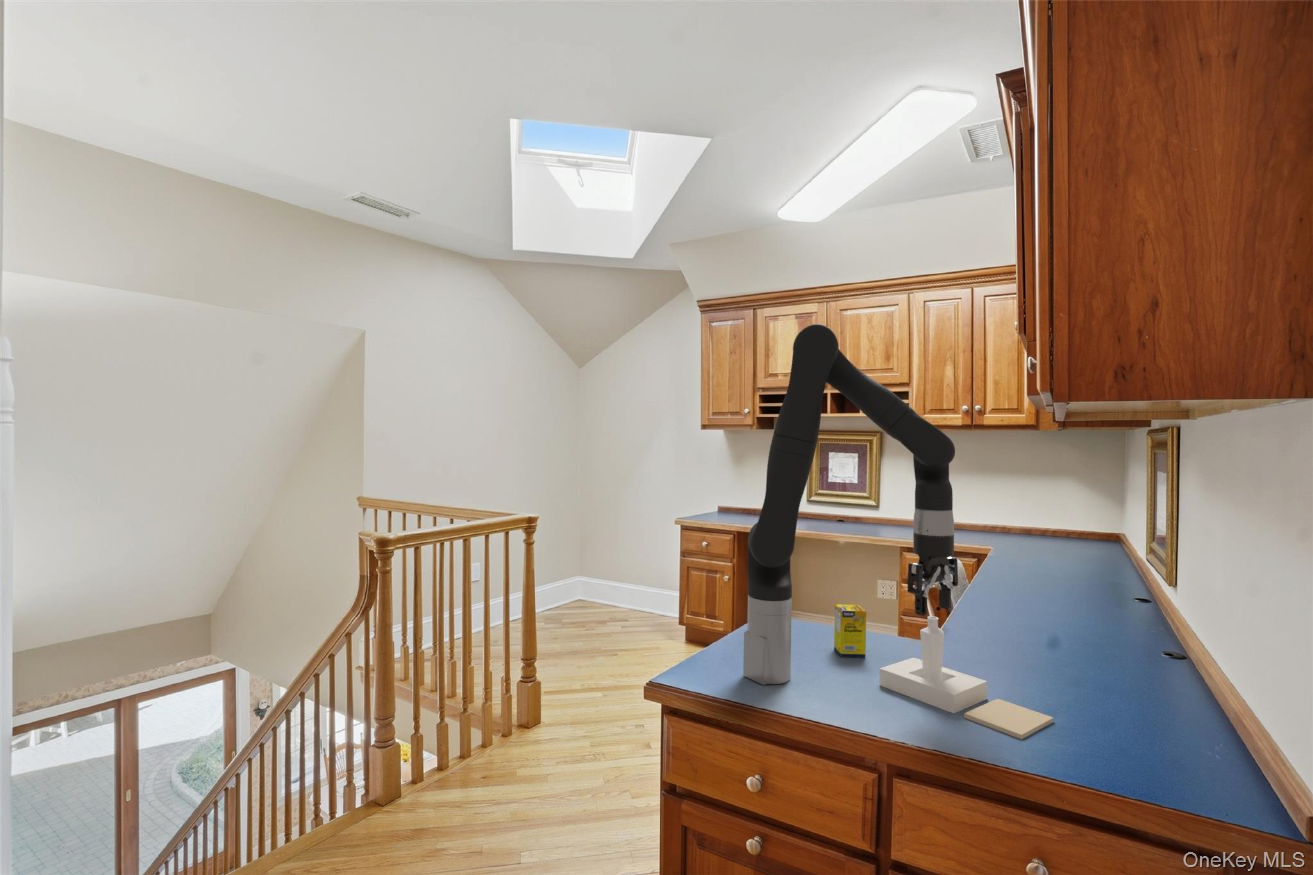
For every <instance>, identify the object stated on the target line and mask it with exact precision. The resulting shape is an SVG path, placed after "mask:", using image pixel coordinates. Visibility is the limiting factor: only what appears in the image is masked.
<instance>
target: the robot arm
mask: <svg viewBox="0 0 1313 875" xmlns="http://www.w3.org/2000/svg"><path fill="white" fill-rule="evenodd" d="M790 367H791V368H790V373H789V375H790V376H789V381H788V385H787V390H786V394H785V396H784V399H783V402H782V405H781V407H780V410H779V412H778V416H777V419H776V424H775V426H774V430H773V433H772V434H773V435H772V438H771V443H770V447H769V451H768V458H767V466H766V481H765V482H766V483H765V494H764V500H763V504H762V508H761V510H760V514H759V518H758V520H757V522H756V523H755V524H754V525H752V527H751V529H749V530H750V531H749V533H748V536H747V628H746V629H747V630H745V631H744V633H743V666H742V667H743V670H742V671H743V672H742V673H743V677H745V678H747V679H750V680H751V681H753V682H756V683H758V684H760V685H763V686H765V685H779V684H780V685H781V684H784V683H788V682H789V681H790V680H791V678H792V674H791V672H792V666H791V665H792V610H793V609H792V604H793V603H792V602H793V601H792V600H793V598H792V596H793V584H792V574H791V557H792V555H793V553H794V550H795V544H796V543H795V542H796V532H797V524H798V517H799V510H800V506H801V501H802V499H803V495H804V492H805V490H806V486H807V482H808V481H809V480H808V479H809V475H810V471H811V469H812V465H813V462H814V458H815V453H816V449H817V446H818V445H817V443H818V441H819V440H818V439H819V434H820V426H821V419H822V408H823V406H822V405H823V398H824V393H825V389H826V385H827V384H828V385H829V386H831V387H832V388H834V389H835V390H836V391H838V392H839V393H840V394H841V395H843V396H844V397H845V398H846V399H847V400H849V401H850V402H851V404H853V405H854V406H855V407H856V408H857V409H859V410H860V412H862V414H864V415H865V416H866V417H867V418H868V419H870V420H871V421H872V423H874V424H875V425H877V427H878V428H880V429H881V431H883V432H885V433H886V434H887V435H888V436H890V437H891V438H893V439H895V440H897V441H898V442H900V444H901V445H903V446H904V448H906V449H907V450H908V452H910V453H911V454H912V455H913V456H912V457H913V469H914V471H913V472H914V480H915V486H914V487H915V488H914V513H913V527H912V528H913V539H912V540H913V542H912V543H913V547H912V548H913V550H912V551H913V553H914V554H915V555H917V556H918V562H917V563H916V562H909V563H908V566H907V568H908V570H907V588H906V589H907V593H909V594H911V595H913V596H914V613H915V614H917V615H918V616H922V617H925V616H928V594H929V592H930V589H932V588H934V586H935V584H937V585H938V588H939V589H938V606H939V608H941V609H944V610H951V609H952V608H951V607H952V591H953V590H954V588H955V587H958V585H959V573H958V572H959V569H958V568H959V565H958V564H959V563H958V558H957V557H953V556H954V554H955V519H954V510H953V508H954V506H953V503H954V502H953V501H954V498H953V495H954V494H953V487H952V486H953V485H952V483H951V481H950V464H951V462H952V461H953V460H954V458H955V455H956V447H955V444H954V442H953V441H952V439H951V438H950V437H949V436H947V434H946V433H944V432H943V431H942V430H940V429H939V428H937V427H936V426H935V425H933V424H932V423H931V422H929V421H927V420H926V419H925V418H923V417H921V415H919V414H918V413H917V412H916V411H915V410H914V409H913V408H912V407H911V406H909V404H907V403H906V402H905V401H904V400H902V398H900V397H899V396H898V395H896V394H895V393H894V392H893V391H892V390H890V389H889V388H887V387H885V386H884V385H883V384H881V383H880V382H878V381H876V380H875V379H873V378H871V377H870V376H868V375H867V374H866V373H864V371H861V369H860V368H858V367H856V365H854V364H853V363H852V362H851V361H850V360H849V359H848V358H847V357H846V355H845V354H844V353H843V352H842V351H841V350H840V349H839V340H838V338H837V336H836V334H835V333H834V331H833V330H832V329H831V328H829V327H828V326H827V325H824V324H821V323H814V324H811V325H807V326H806V327H804V328H803V329H802V330H800V331H799V332H798V334H797V335H796V337H795V339H794V341H793V345H792V360H791V366H790ZM914 583H915V585H914Z"/></svg>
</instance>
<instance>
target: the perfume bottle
mask: <svg viewBox="0 0 1313 875" xmlns="http://www.w3.org/2000/svg"><path fill="white" fill-rule="evenodd" d="M919 630H920V631H919V632H920V647H921V648H920V649H921V660H922V666H923V678H924V679H927V680H930V681H933V682H936V683H941V671H942V667H943V660H944V659H943V658H944V646H945V632H944V631H943V629H941V628H939V617H937V616H934V615H933V616H931V615H928V616H927V626H926V627H924V628H922V629H919Z"/></svg>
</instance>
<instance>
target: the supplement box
mask: <svg viewBox="0 0 1313 875" xmlns="http://www.w3.org/2000/svg"><path fill="white" fill-rule="evenodd" d="M866 636H867V611H866V610H865V609H864V608H863V607H862V606H861V605H859V604H841V603H840V604H835V605H834V638H833V640H834V645H833V646H834V648H833V649H834V650H835V651H836V652H837V654H838V655H839V656H840V657H841V658H866V656H867V655H866V650H867V649H866V647H867V645H866V644H867V643H866V642H867V639H866V638H867V637H866Z"/></svg>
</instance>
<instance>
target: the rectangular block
mask: <svg viewBox="0 0 1313 875" xmlns="http://www.w3.org/2000/svg"><path fill="white" fill-rule="evenodd" d="M879 686H880V687H883V688H886V689H889V690H890V691H894V692H896V693H899V694H901V695H904V696H907V697H909V698H912V699H914V700H917V701H920V702H922V703H925V704H926V705H927V704H928V705H931V706H932V707H935V708H938V709H941V710H944V711H945V712H949V713H952V714H957V713H959V712H961V711H963V710H966V709H967V708H968V709H969V707H972V706H975V705H977V704H979V703H981V702H984V701H985V700H988V681H987V680H985V679H981V678H979V677H975V676H972V675H969V674H966V673H963V672H960V671H957V670H955V669H954V670H953V669H951V668H948V667H944V666H942V671H941V683H936V682H933V681H930V680H927V679H924V678H923V666H922V659H920V658H916V657H910V658H907V659H904V660H901V661H899V662H895V663H892V664H889V665H887V666H884V667H880V668H879Z"/></svg>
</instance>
